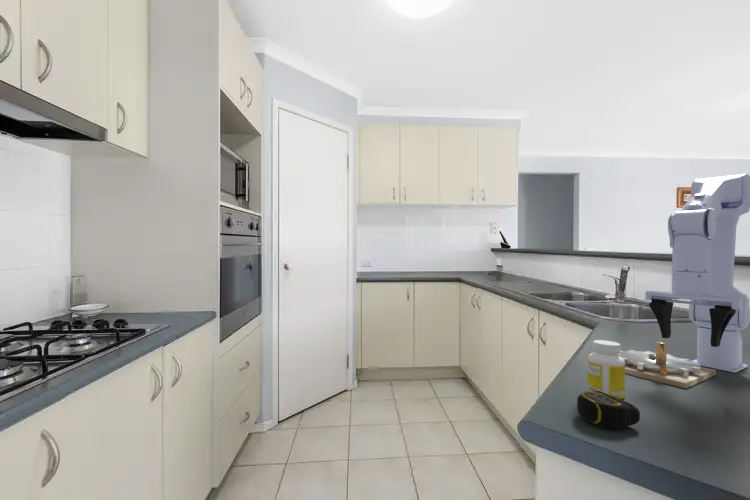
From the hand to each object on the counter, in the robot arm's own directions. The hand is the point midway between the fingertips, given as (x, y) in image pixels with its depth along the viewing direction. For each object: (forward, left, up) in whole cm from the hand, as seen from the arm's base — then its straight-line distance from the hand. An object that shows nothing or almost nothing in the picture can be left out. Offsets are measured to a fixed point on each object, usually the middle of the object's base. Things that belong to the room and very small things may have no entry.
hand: (689, 341), depth 73 cm
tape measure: (+32, -1, -9) cm, 33 cm away
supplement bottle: (+23, -5, -9) cm, 25 cm away
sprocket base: (-6, -8, -9) cm, 13 cm away
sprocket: (-6, -8, -7) cm, 12 cm away
